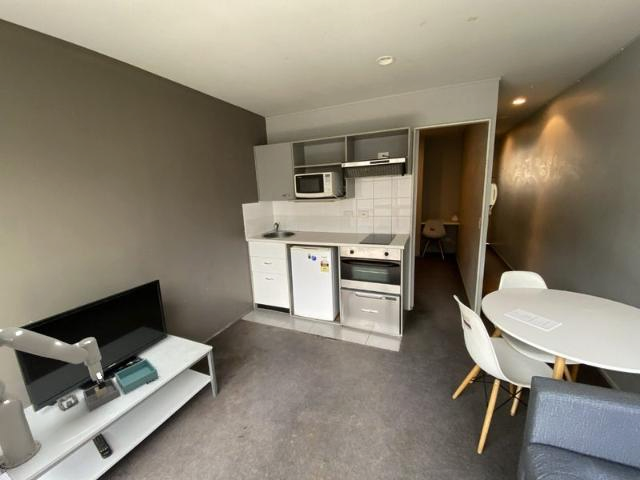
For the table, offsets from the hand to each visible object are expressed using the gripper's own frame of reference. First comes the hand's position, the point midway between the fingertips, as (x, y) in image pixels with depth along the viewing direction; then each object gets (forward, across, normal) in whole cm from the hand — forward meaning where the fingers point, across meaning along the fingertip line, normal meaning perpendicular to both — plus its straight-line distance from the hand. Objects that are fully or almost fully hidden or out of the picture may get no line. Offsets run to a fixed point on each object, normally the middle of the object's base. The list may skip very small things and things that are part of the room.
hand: (100, 384), depth 158 cm
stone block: (+8, 0, -1) cm, 8 cm away
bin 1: (+9, 0, -1) cm, 9 cm away
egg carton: (+9, -10, -14) cm, 20 cm away
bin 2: (+9, 0, +17) cm, 20 cm away
